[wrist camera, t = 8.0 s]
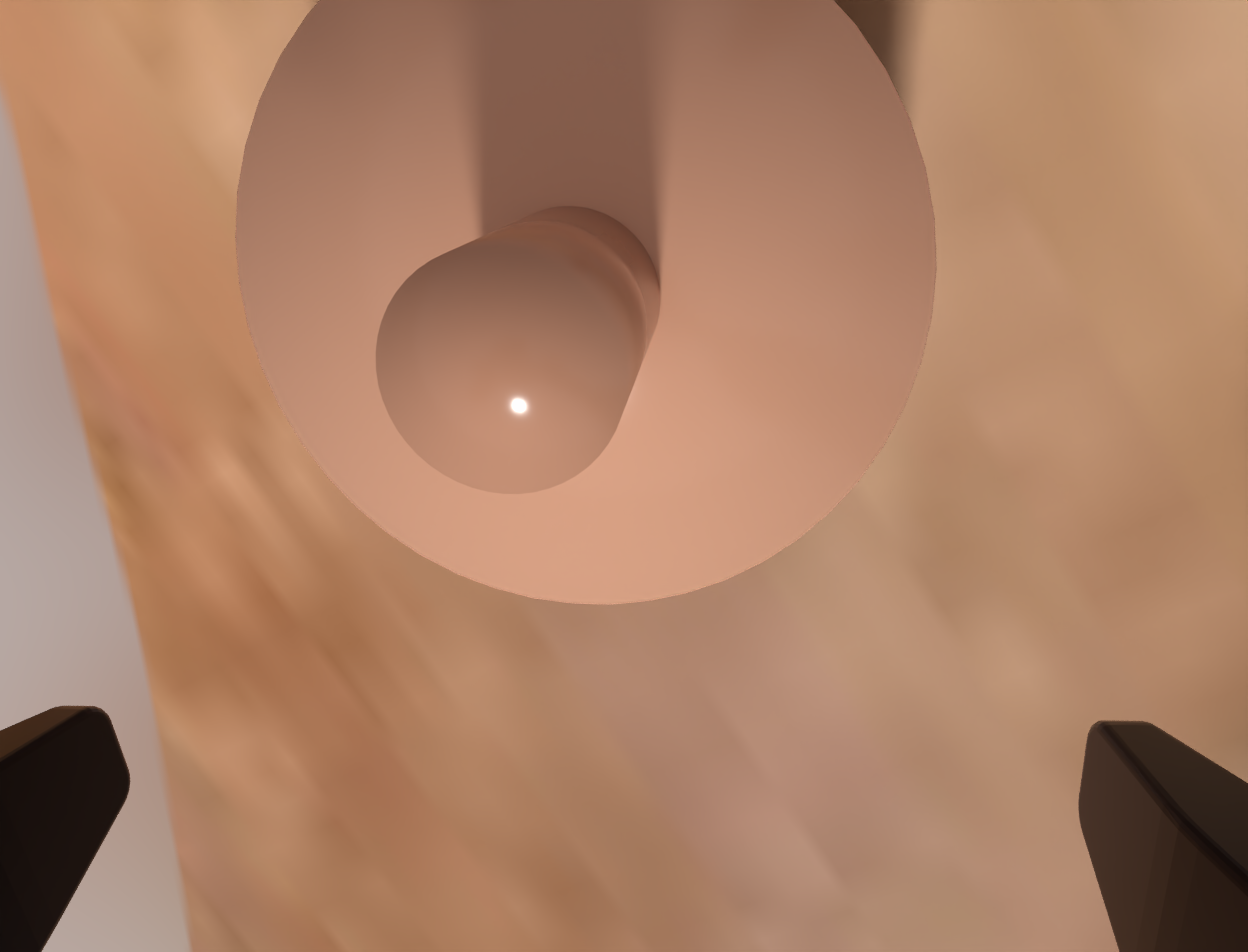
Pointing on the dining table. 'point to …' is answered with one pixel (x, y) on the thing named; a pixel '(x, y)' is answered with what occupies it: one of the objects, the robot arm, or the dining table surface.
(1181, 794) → the robot arm
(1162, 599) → the dining table surface
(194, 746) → the dining table surface
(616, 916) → the dining table surface
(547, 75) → the lid
